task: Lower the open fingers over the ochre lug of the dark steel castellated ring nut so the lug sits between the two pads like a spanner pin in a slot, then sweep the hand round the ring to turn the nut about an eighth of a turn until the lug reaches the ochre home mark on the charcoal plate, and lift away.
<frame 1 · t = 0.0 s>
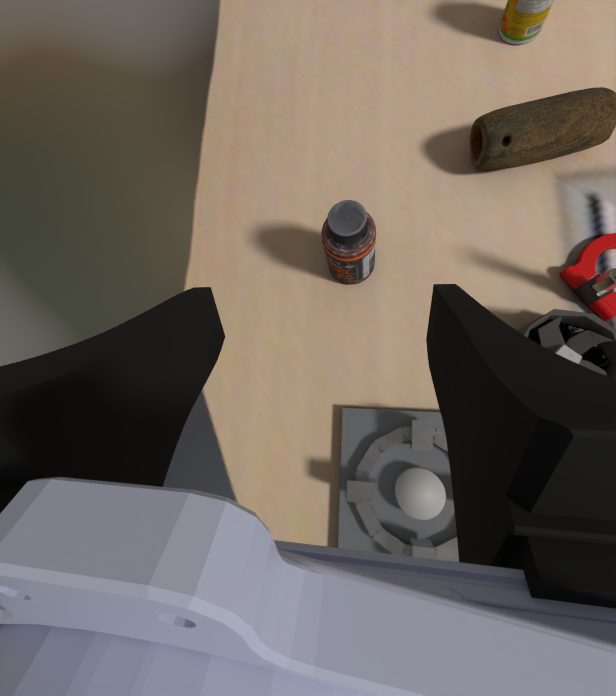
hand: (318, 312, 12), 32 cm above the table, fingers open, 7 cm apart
cap plate: (416, 488, 39), on the table
cpu cooler: (543, 367, 40), on the table
brown hollow cylinder: (527, 152, 45), on the table
supplement bottle: (518, 31, 49), on the table
supplement bottle 2: (351, 265, 46), on the table
ring nut: (420, 494, 37), point 3 cm above the table, hinge at 0.0°
tow hook: (613, 275, 41), on the table
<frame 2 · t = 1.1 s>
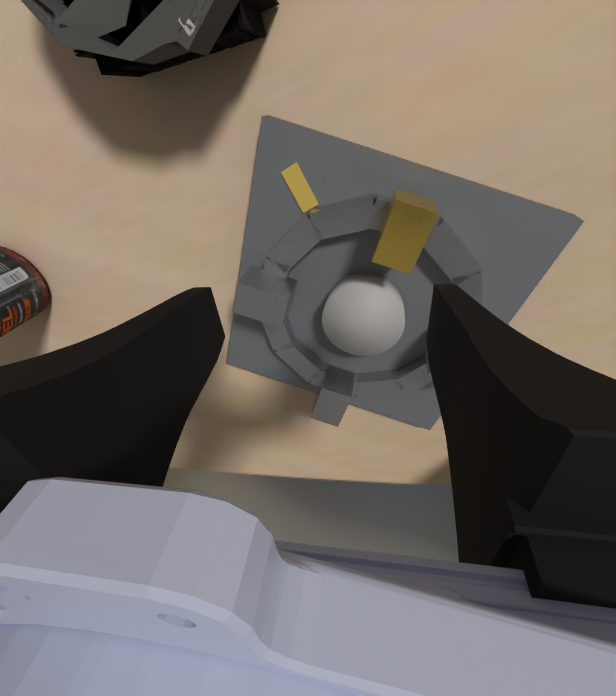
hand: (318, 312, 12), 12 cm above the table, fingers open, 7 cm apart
cap plate: (365, 299, 24), on the table
supplement bottle 2: (20, 277, 29), on the table
ring nut: (362, 323, 21), point 3 cm above the table, hinge at 0.0°
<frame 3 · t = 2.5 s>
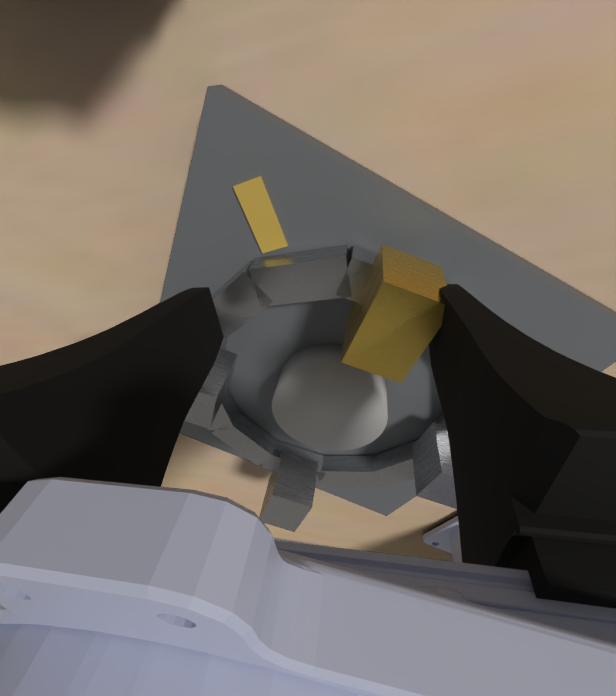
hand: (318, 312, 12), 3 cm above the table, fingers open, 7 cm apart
cap plate: (334, 369, 18), on the table
ring nut: (328, 416, 15), point 3 cm above the table, hinge at 7.5°, touching gripper
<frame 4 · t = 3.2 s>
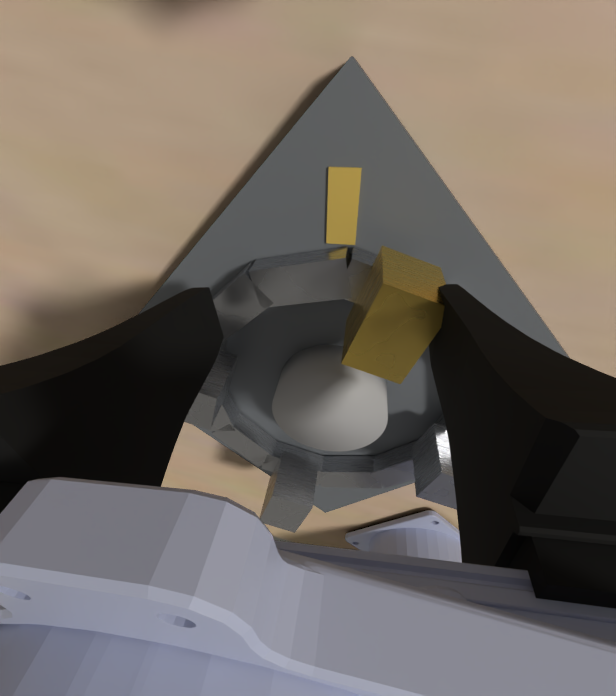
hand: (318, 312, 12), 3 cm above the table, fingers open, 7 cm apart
cap plate: (334, 370, 18), on the table
ring nut: (328, 416, 15), point 3 cm above the table, hinge at 27.2°, touching gripper
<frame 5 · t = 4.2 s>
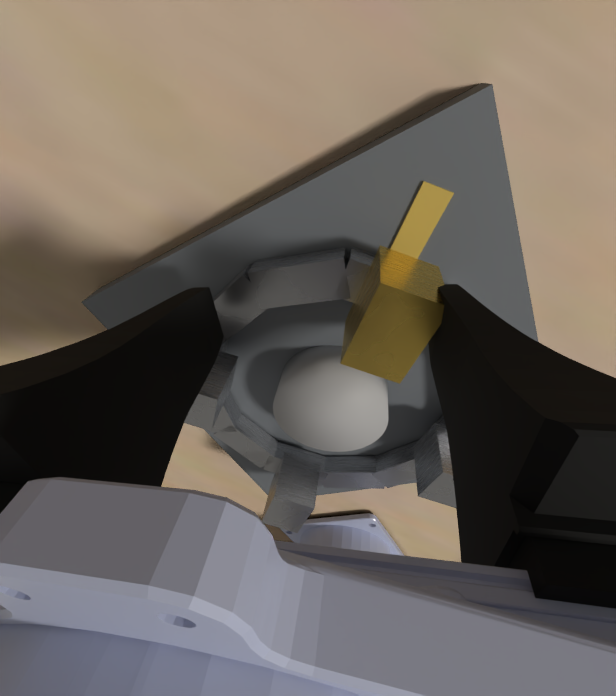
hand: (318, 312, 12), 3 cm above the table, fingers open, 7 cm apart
cap plate: (335, 370, 18), on the table
ring nut: (329, 417, 15), point 3 cm above the table, hinge at 45.5°, touching gripper
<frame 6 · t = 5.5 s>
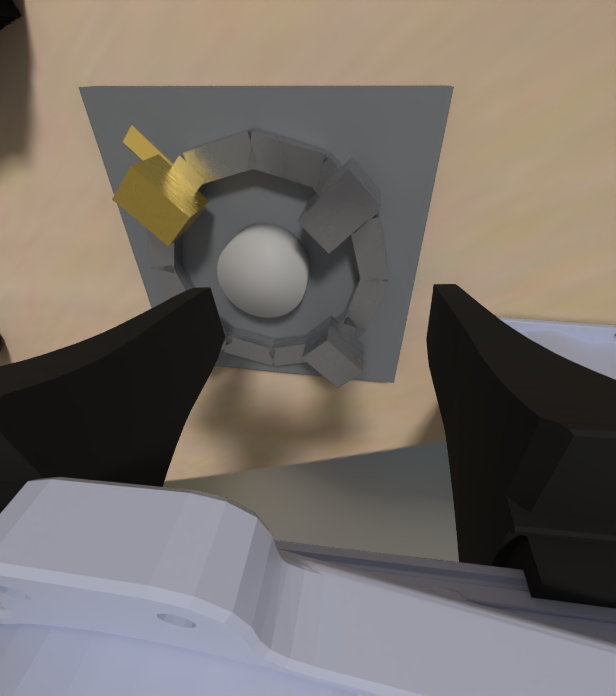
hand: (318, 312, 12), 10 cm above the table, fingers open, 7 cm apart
cap plate: (273, 257, 22), on the table
ring nut: (260, 280, 19), point 3 cm above the table, hinge at 45.6°
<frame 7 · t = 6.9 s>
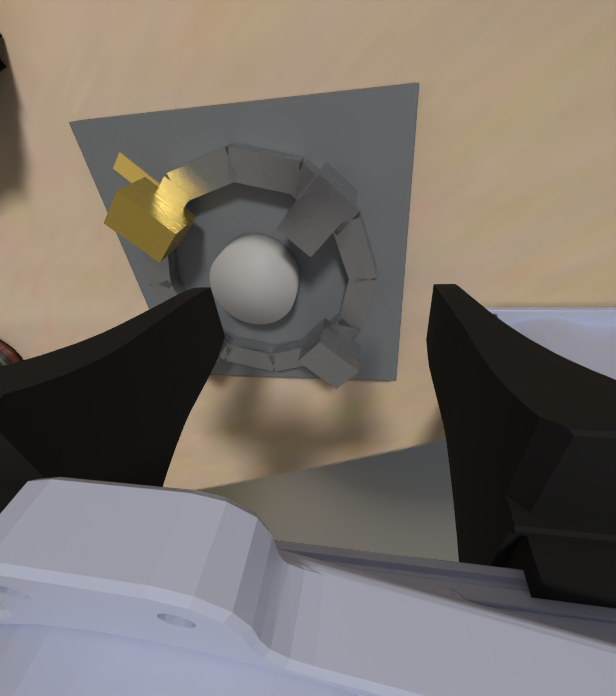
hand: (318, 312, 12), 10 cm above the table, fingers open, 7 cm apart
cap plate: (265, 265, 22), on the table
ring nut: (252, 288, 20), point 3 cm above the table, hinge at 45.6°
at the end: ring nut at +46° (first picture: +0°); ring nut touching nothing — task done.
